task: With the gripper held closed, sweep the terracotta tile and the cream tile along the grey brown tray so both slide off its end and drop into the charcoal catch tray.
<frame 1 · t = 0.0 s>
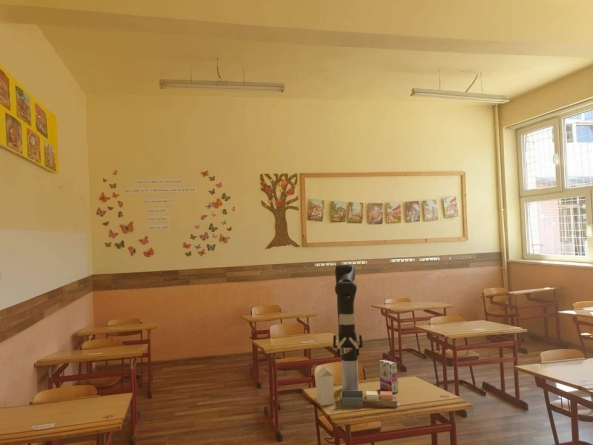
hand: (348, 356, 224), 29 cm above the table, tool pointing down, fingers open, 8 cm apart
candy bar box: (389, 391, 263), on the table
milk carton: (325, 403, 245), on the table
grey brown tray: (379, 403, 242), on the table
tile cream: (371, 397, 242), point 3 cm above the table, touching grey brown tray
tile terracotta: (386, 397, 241), point 3 cm above the table, touching grey brown tray
catch tray: (351, 403, 243), on the table
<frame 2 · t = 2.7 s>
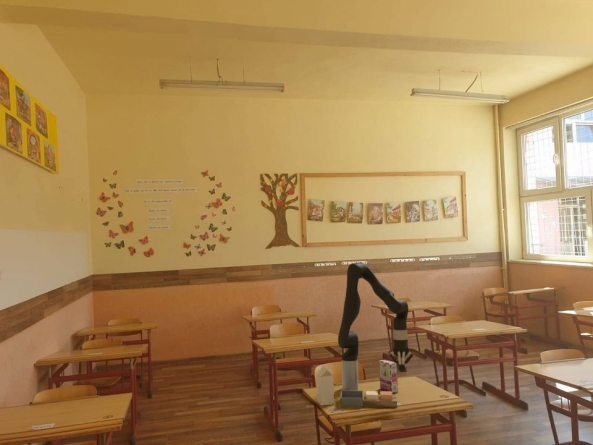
hand: (401, 371, 241), 17 cm above the table, tool pointing down, fingers closed
nothing on the table moved.
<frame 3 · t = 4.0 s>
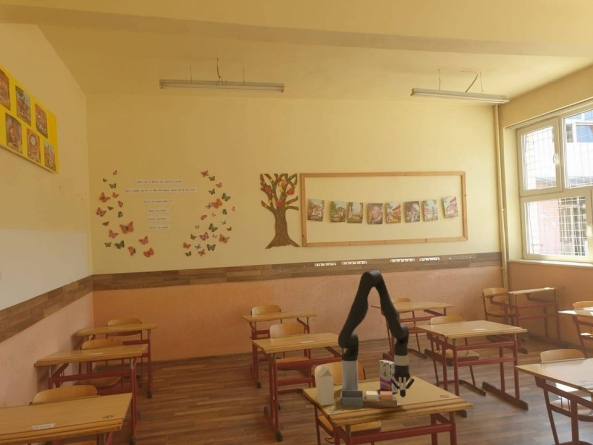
hand: (402, 396, 240), 4 cm above the table, tool pointing down, fingers closed
nothing on the table moved.
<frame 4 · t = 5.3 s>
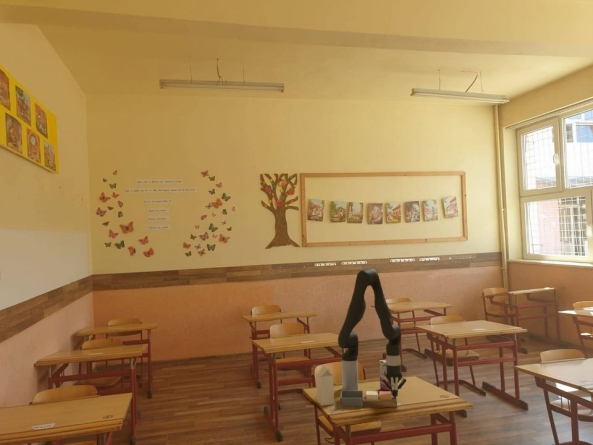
hand: (394, 396, 241), 3 cm above the table, tool pointing down, fingers closed
tile terracotta: (385, 397, 241), point 3 cm above the table, touching grey brown tray, gripper
everything else where it was.
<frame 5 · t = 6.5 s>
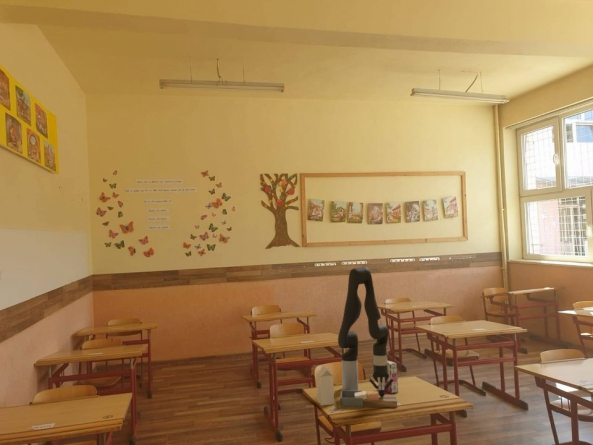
hand: (381, 396, 242), 4 cm above the table, tool pointing down, fingers closed
tile cream: (361, 398, 243), point 3 cm above the table, tilted 12°
tile terracotta: (372, 397, 242), point 3 cm above the table, touching gripper
everything else where it was.
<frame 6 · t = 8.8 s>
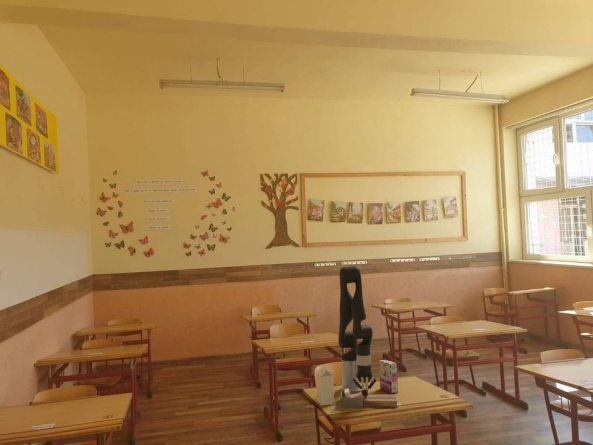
hand: (365, 396, 243), 3 cm above the table, tool pointing down, fingers closed
tile cream: (350, 395, 243), point 4 cm above the table, tilted 105°, touching catch tray
tile terracotta: (357, 399, 242), point 2 cm above the table, tilted 16°, touching gripper
everything else where it was.
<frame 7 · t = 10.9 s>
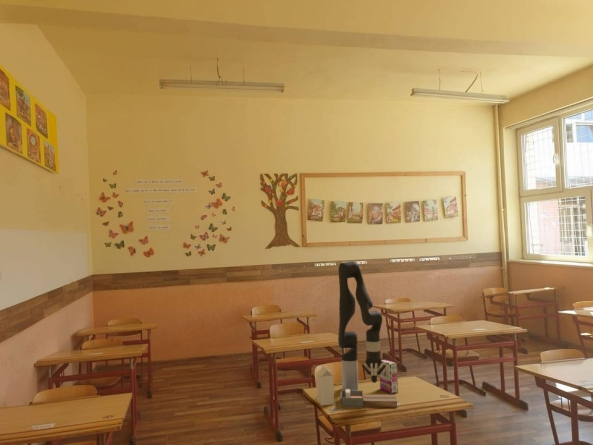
hand: (374, 382, 243), 11 cm above the table, tool pointing down, fingers closed
tile cream: (350, 396, 243), point 4 cm above the table, tilted 90°, touching catch tray
tile terracotta: (356, 402, 242), point 1 cm above the table, touching catch tray
everything else where it was.
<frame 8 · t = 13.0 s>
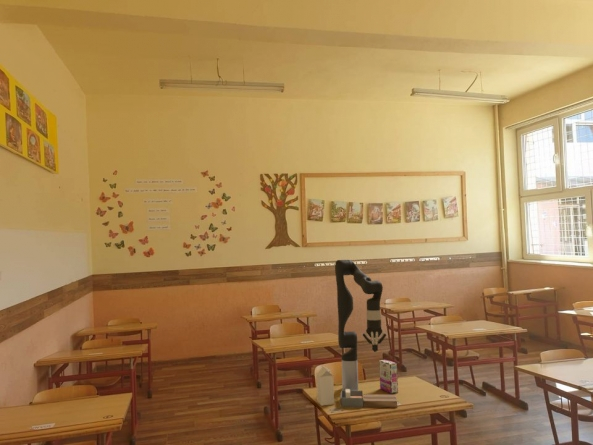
hand: (375, 351, 243), 27 cm above the table, tool pointing down, fingers closed
nothing on the table moved.
at the end: tile terracotta inside the target area on the catch tray (2.3 cm from its centre), point 0.6 cm above the catch tray's base; tile cream inside the target area on the catch tray (1.1 cm from its centre), point 3.6 cm above the catch tray's base; tile cream touching catch tray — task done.
